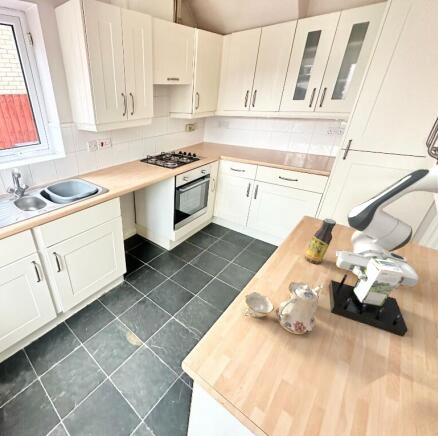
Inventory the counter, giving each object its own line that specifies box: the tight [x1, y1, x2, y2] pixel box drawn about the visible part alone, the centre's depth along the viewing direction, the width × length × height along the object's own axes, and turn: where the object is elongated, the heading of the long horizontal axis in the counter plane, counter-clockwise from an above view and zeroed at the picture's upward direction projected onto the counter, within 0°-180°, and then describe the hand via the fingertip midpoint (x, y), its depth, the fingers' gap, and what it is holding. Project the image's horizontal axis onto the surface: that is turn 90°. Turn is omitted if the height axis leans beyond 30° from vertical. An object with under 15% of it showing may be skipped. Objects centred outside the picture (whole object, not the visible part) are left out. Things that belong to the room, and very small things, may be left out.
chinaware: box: [243, 281, 323, 336], centre depth 77 cm, size 28×17×17 cm, turn 111°
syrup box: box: [354, 258, 404, 306], centre depth 76 cm, size 6×6×14 cm
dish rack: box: [328, 274, 409, 337], centre depth 80 cm, size 18×14×8 cm
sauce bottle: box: [304, 218, 337, 264], centre depth 100 cm, size 7×6×20 cm
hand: (378, 282), depth 75 cm, fingers closed on syrup box, 6 cm apart
